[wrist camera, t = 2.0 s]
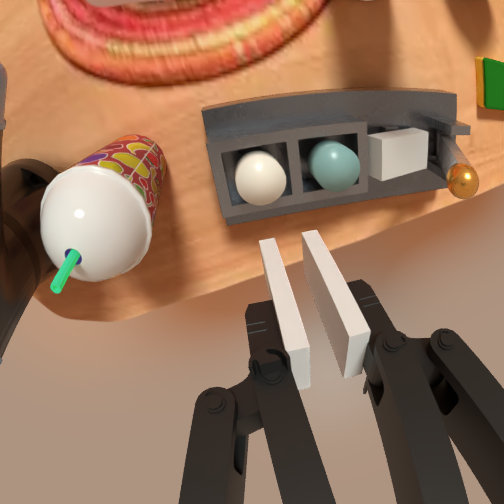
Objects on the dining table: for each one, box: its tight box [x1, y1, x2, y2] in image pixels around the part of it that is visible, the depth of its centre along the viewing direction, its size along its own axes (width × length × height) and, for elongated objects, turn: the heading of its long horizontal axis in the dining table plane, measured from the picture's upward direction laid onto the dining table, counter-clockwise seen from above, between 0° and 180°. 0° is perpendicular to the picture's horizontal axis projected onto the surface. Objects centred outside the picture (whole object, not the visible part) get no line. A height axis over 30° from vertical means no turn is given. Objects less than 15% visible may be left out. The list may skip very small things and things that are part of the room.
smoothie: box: [40, 135, 166, 293], centre depth 21 cm, size 8×8×20 cm
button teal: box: [307, 140, 360, 192], centre depth 25 cm, size 4×4×2 cm
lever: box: [436, 129, 479, 199], centre depth 23 cm, size 3×3×13 cm
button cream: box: [234, 151, 286, 205], centre depth 25 cm, size 4×4×2 cm
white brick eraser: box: [367, 128, 428, 181], centre depth 26 cm, size 7×4×2 cm, turn 100°
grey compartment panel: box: [202, 88, 470, 226], centre depth 27 cm, size 28×12×7 cm, turn 99°
